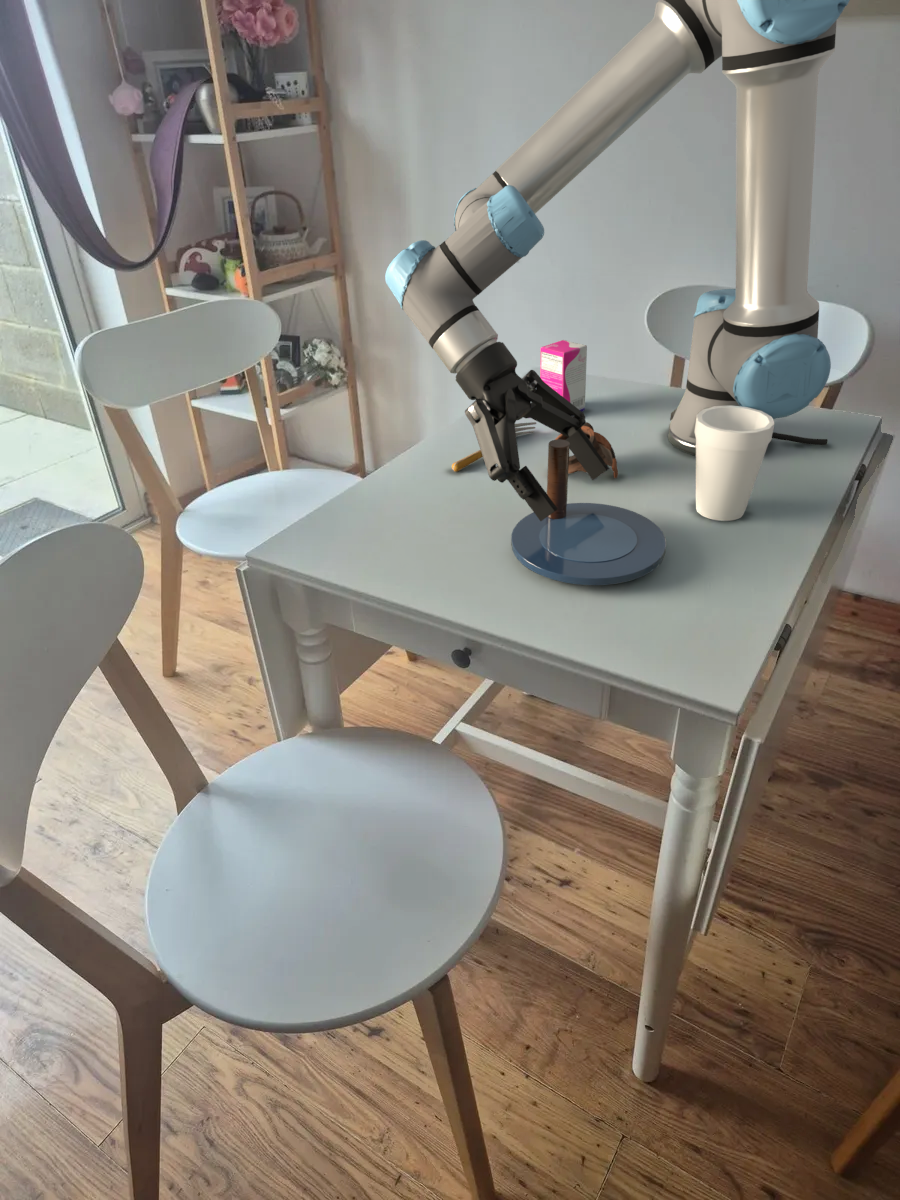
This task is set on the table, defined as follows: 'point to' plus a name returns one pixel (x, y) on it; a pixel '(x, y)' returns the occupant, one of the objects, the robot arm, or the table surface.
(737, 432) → the foam cup
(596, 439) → the broken brown clay pot
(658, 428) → the table surface
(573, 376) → the supplement box
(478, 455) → the fork
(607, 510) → the blue disc with rod
